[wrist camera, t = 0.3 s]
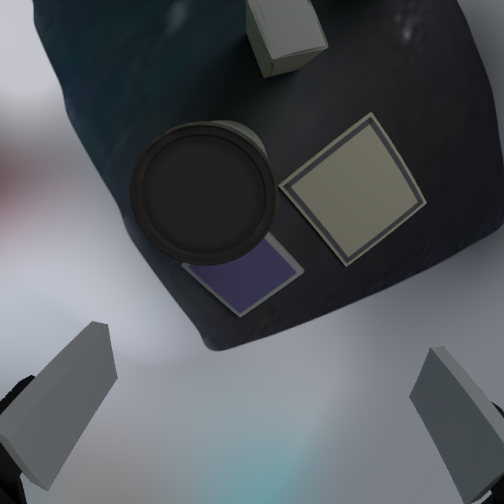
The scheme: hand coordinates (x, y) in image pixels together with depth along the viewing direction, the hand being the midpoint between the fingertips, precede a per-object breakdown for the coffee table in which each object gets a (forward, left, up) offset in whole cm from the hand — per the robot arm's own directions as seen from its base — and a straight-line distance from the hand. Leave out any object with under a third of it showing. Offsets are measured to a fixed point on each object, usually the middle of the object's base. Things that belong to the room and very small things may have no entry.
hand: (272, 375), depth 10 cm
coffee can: (+1, -5, -26) cm, 26 cm away
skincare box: (-12, -11, -26) cm, 31 cm away
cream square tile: (-9, +8, -26) cm, 28 cm away
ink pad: (+8, +6, -26) cm, 27 cm away
